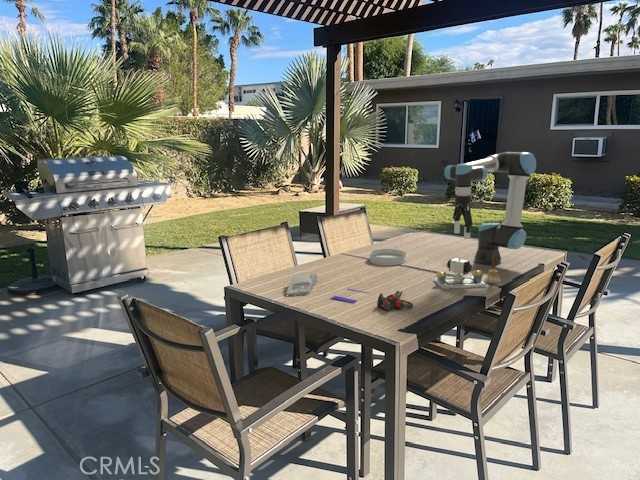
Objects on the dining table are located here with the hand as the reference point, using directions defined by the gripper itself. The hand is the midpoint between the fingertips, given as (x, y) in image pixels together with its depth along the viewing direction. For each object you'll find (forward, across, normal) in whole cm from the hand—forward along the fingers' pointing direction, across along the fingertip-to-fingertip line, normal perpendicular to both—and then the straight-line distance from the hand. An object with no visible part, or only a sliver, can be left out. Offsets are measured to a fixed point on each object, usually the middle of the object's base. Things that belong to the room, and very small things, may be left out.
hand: (461, 236), depth 246 cm
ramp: (+23, +2, -83) cm, 86 cm away
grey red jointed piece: (+23, +30, -41) cm, 56 cm away
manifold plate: (+23, +6, -3) cm, 24 cm away
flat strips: (+23, +14, -59) cm, 65 cm away
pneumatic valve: (+22, +6, -3) cm, 23 cm away
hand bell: (+24, +4, +16) cm, 29 cm away
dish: (+24, -45, -28) cm, 58 cm away
